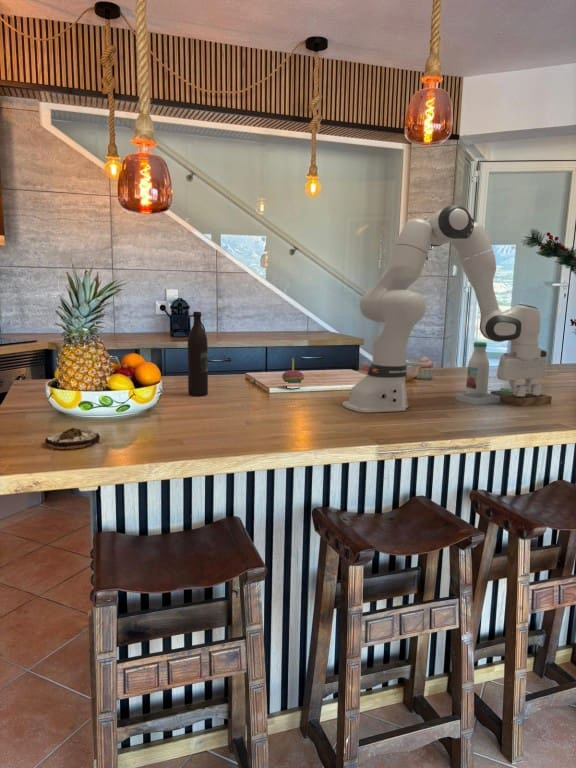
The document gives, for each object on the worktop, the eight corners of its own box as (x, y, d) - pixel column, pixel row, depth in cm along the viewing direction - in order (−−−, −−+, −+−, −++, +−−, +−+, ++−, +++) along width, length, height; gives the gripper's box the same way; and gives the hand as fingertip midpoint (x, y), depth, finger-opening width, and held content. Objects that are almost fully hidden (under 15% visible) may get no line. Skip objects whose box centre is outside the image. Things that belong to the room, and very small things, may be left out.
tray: (473, 406, 194) (474, 398, 194) (455, 401, 202) (456, 394, 202) (499, 403, 199) (500, 396, 199) (480, 398, 207) (481, 391, 207)
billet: (518, 406, 195) (520, 386, 193) (509, 404, 198) (511, 384, 197) (527, 405, 196) (529, 385, 195) (518, 403, 200) (520, 383, 199)
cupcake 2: (436, 378, 252) (437, 355, 250) (432, 381, 243) (434, 358, 242) (415, 376, 256) (416, 354, 254) (411, 379, 247) (412, 356, 245)
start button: (505, 397, 202) (505, 389, 202) (497, 396, 205) (498, 387, 205) (512, 397, 204) (512, 389, 203) (504, 395, 207) (505, 387, 206)
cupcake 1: (281, 386, 226) (281, 356, 224) (302, 386, 227) (302, 356, 224) (283, 390, 217) (283, 359, 215) (305, 390, 218) (305, 359, 216)
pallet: (519, 408, 192) (520, 399, 191) (501, 403, 199) (502, 395, 198) (550, 404, 198) (551, 396, 198) (532, 400, 205) (533, 392, 205)
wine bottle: (202, 397, 201) (201, 312, 196) (184, 395, 203) (183, 311, 198) (211, 393, 208) (210, 311, 202) (194, 392, 210) (193, 311, 205)
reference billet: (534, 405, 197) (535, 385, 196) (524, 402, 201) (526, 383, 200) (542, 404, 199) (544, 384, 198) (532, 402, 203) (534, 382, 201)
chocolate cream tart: (67, 457, 132) (66, 439, 131) (28, 447, 139) (27, 430, 139) (116, 442, 144) (116, 426, 143) (78, 434, 152) (77, 419, 151)
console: (504, 402, 200) (505, 394, 200) (490, 399, 206) (490, 391, 206) (519, 401, 203) (520, 393, 203) (504, 397, 209) (504, 389, 209)
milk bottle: (484, 393, 218) (488, 341, 214) (489, 397, 210) (493, 343, 207) (463, 392, 219) (467, 340, 215) (468, 396, 211) (472, 343, 208)
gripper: (508, 354, 187) (505, 395, 189) (551, 352, 195) (547, 391, 198) (494, 352, 192) (490, 391, 195) (536, 350, 201) (533, 388, 203)
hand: (520, 391), depth 196 cm, fingers closed on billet, 4 cm apart
